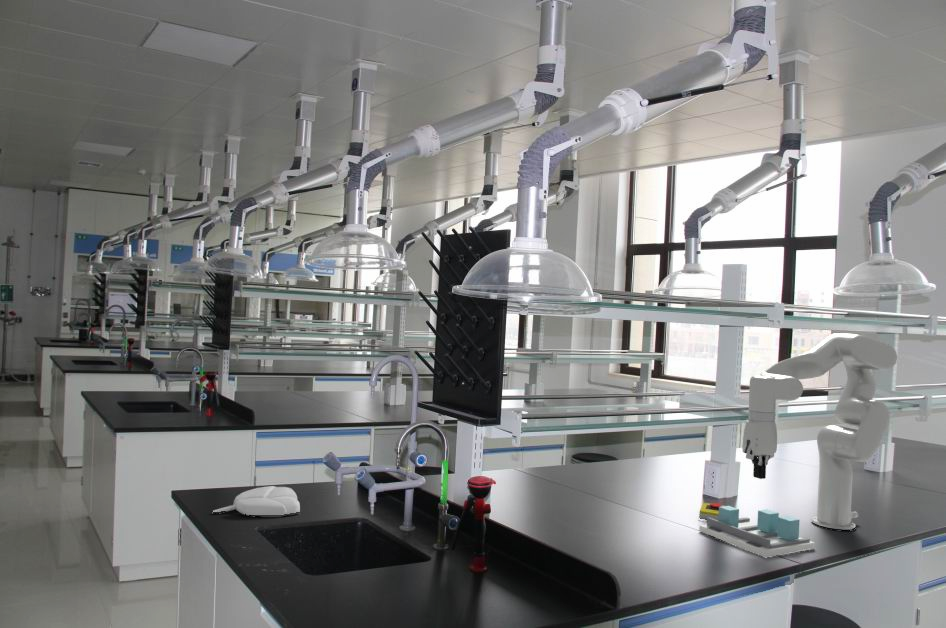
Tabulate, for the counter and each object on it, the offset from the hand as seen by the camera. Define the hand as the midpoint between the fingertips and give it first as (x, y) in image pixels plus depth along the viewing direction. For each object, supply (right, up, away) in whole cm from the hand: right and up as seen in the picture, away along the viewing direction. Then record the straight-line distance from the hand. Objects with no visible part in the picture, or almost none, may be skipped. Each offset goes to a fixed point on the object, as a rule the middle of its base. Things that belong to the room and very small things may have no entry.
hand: (759, 477), depth 216 cm
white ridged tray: (-4, -17, -7) cm, 19 cm away
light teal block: (+1, -14, -5) cm, 15 cm away
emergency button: (-8, -17, +16) cm, 25 cm away
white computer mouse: (-152, -11, 0) cm, 152 cm away
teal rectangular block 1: (-10, -14, -3) cm, 18 cm away
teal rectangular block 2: (+4, -15, -11) cm, 19 cm away
